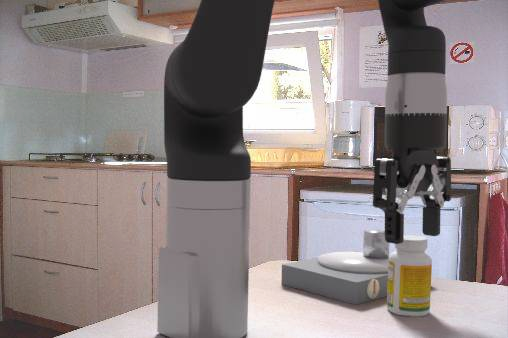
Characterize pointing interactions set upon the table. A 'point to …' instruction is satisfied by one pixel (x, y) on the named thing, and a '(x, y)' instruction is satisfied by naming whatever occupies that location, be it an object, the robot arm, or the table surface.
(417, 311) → the supplement bottle
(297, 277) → the scale
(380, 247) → the cylinder
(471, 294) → the table surface
